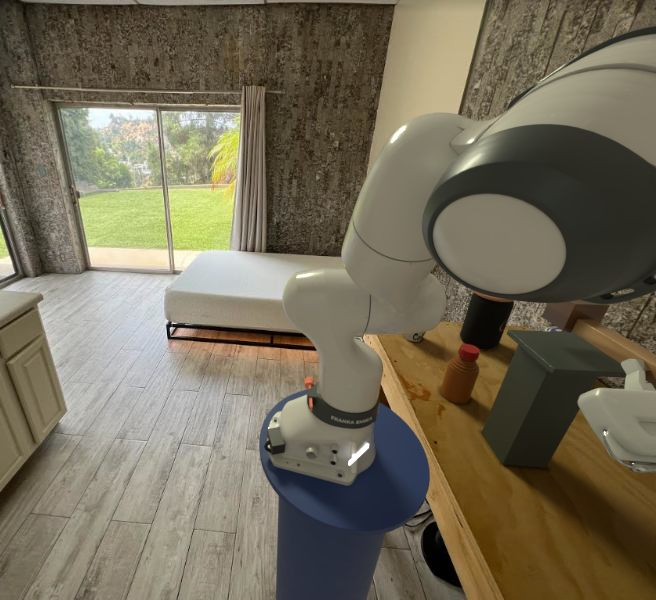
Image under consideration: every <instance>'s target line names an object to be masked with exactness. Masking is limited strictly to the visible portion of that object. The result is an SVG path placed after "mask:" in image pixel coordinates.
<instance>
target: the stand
mask: <svg viewBox="0 0 656 600" xmlns="http://www.w3.org/2000/svg"><path fill="white" fill-rule="evenodd" d="M506 335H507V336H508V337H509V338H510V339H511V340H513V341H514V342H515V343H516V344H517V346H516V348H515V351H514V353H513V355H512V358H511V360H510V362H509V364H508V367H507V370H506V373H505V375H504V377H503V380H502V382H501V384H500V387H499V390H498V392H497V394H496V396H495V399H494V401H493V404H492V406H491V409H490V411H489V413H488V416H487V418H486V420H485V423H484V425H483V428H482V430H481V434H482V436H483V437H484V438H485V440H486V442H487V443H488V444H489V446H490V448H491V449H492V451H493V452H494V454H495V455H496V457H497V458H498V460H499V461H500V463H501V464H502V465H505V466H515V467H516V466H517V467H529V468H541V469H542V468H543V469H546V468H547V467H548V466H549V463H550V461H551V460H552V458H553V457H554V455H555V453H556V451H557V449H558V448H559V446H560V444H561V443H562V440H563V439H564V437H565V436H566V434H567V432H568V430H569V429H570V427H571V425H572V423H573V422H574V420H575V419H576V417H577V415H578V414H579V412H580V411H581V410H580V408H579V406H578V399H579V396H580V395H581V394H583V393H586V392H588V391H591V390H593V388H594V385H595V383H596V382H597V380H598V378H599V377H600V378H601V377H603V378H619V379H626V375H627V374H626V373H625V371H624V369H623V368H622V366H621V364H620V363H619V362H617V361H616V360H614V359H613V358H611V357H610V356H608V355H607V354H605V353H604V352H602V351H601V350H599V349H598V348H596V347H595V346H593V345H592V344H590V343H588V342H587V341H585V340H584V339H582V338H581V337H579V336H578V335H576V334H575V333H573V332H552V331H543V330H525V329H523V330H522V329H507V332H506Z"/></svg>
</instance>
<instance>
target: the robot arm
mask: <svg viewBox="0 0 656 600" xmlns="http://www.w3.org/2000/svg"><path fill="white" fill-rule="evenodd" d="M340 256H341V262H342V265H343V267H317V268H311V269H306V270H301V271H296V272H294V273H293V274H292V276H290V278H289V279H288V280H287V282H286V283H285V285H284V288H283V291H282V296H281V297H282V298H281V304H282V305H281V306H282V310H283V313H284V316H285V317H286V320H287V321H288V322H289V323H290V325H291V326H292V327H293V328H294V329H296V330H298V332H300V333H302V335H304V336H305V337H306V338H307V339H309V341H310V342H311V343H312V345H313V346H314V349H315V350H316V352H317V356H318V365H319V366H318V367H319V369H318V370H319V371H318V381H317V382H316V383H315V379H314V378H313V377H312V376H306V377H305V378H304V388H305V390H307V389H308V391H307V395H304V396H302V397H299V398H297V399H294V400H291V401H289V402H287V403H286V404H285V406H284V407H283V409H282V411H280V412H277V413H276V414H275V415H274V416H273V418H272V419H271V421H270V424H269V428H268V429H267V442H266V443H265V445H264V448H265V450H266V451H268V455H269V458H270V460H271V462H272V464H273V465H274V466H275V467H278V468H282V469H285V470H289V471H293V472H296V473H300V474H304V475H308V476H311V477H315V478H319V479H323V480H326V481H330V482H334V483H338V484H341V485H345V486H349V485H351V484H352V483H353V482H354V480H355V479H356V477H357V475H358V474H359V473H361V472H363V471H364V470H366V469H367V468H368V467H370V466H371V464H372V463H373V461H374V459H375V455H376V449H375V444H374V422H375V421H376V418H377V415H378V411H379V402H380V401H381V400H380V399H381V398H380V396H379V395H380V391H381V385H382V380H383V375H384V364H383V361H382V358H381V356H380V354H379V353H378V352H377V351H376V350H375V349H374V348H373V347H372V346H370V345H369V344H367V343H365V342H364V341H362V340H360V339H358V338H356V336H361V335H369V336H404V335H407V334H414V333H420V332H425V331H426V332H430V331H433V330H434V329H435V328H436V327H437V326H438V325H439V324H440V323H441V321H442V320H443V318H444V316H445V314H446V310H447V294H446V291H445V288H444V286H443V284H442V283H441V281H440V280H439V278H437V277H436V276H435V275H434V274H432V271H433V270H434V268H435V267H436V266H437V265H438V266H439V267H440V268H441V269H442V270H443V271H444V272H445V273H446V274H447V275H448V277H450V278H451V279H453V280H454V281H455V282H456V283H458V284H460V285H462V286H464V287H465V288H467V289H469V290H471V291H473V292H474V291H476V292H478V293H481V294H484V295H488V296H491V297H496V298H502V299H508V300H514V302H515V301H516V302H522V303H523V302H525V303H533V304H535V303H536V304H547V303H562V302H570V301H576V300H582V301H587V302H591V303H596V304H609V305H614V304H619V303H624V302H629V301H632V300H635V299H639V298H642V297H645V296H648V295H650V294H653V293H654V294H655V295H656V23H653V24H649V25H646V26H642V27H638V28H635V29H632V30H629V31H626V32H623V33H621V34H618V35H616V36H613V37H611V38H609V39H607V40H604V41H602V42H600V43H598V44H596V45H594V46H592V47H591V48H589V49H587V50H584V51H583V52H581V53H580V54H578V55H576V56H575V57H573V58H572V59H570V60H569V61H567V62H566V63H564V64H562V65H561V66H560V67H558V68H557V69H556V70H554V71H552V72H550V73H549V74H548V75H546V76H544V77H543V78H542V79H540V80H539V81H537V82H536V83H534V84H532V85H531V86H530V87H528V88H525V90H523V91H521V92H520V93H518V94H517V95H516V96H514V97H513V98H512V99H511V101H510V102H509V104H508V105H507V108H506V110H505V112H503V113H502V114H500V115H498V116H496V117H493V118H491V119H487V120H475V119H472V118H469V117H467V116H464V115H461V114H457V113H452V112H445V111H444V112H438V111H437V112H430V113H425V114H420V115H418V116H415V117H413V118H411V119H409V120H407V121H406V122H404V123H402V124H400V126H398V127H397V128H396V129H395V130H394V131H393V132H392V133H391V134H390V136H389V137H388V139H386V141H385V143H384V145H383V146H382V147H381V149H380V151H379V153H378V155H377V157H376V158H375V160H374V162H373V164H372V165H371V167H370V168H369V171H368V173H367V175H366V178H365V179H364V182H363V184H362V186H361V188H360V191H359V194H358V196H357V199H356V202H355V204H354V208H353V210H352V214H351V217H350V219H349V223H348V227H347V229H346V233H345V236H344V240H343V242H342V246H341V255H340ZM624 290H633V291H630V292H627V293H621V294H614V293H618V292H621V291H624ZM621 366H622V368H623V369H624V371H625V373H626V374H627V375H626V378H624V385H623V388H614V387H613V388H610V387H596V388H594V389H593V388H592V389H591V391H588V392H586V393H583V394H581V395H580V396H579V399H578V406H579V408H580V410H579V411H581V413H582V415H583V417H584V418H585V420H586V422H587V423H588V425H589V426H590V428H591V430H592V431H593V433H594V434H595V436H596V438H598V440H599V441H600V442H601V444H602V445H603V446H604V447H605V448H604V449H606V452H607V454H608V455H609V456H610V458H611V459H612V460H613V461H615V462H617V463H618V464H619V465H621V466H623V467H625V468H627V469H628V470H630V471H631V472H633V473H638V474H654V475H655V474H656V387H655V386H654V385H652V384H651V383H649V382H647V381H646V377H645V373H647V372H650V371H651V369H650V368H649V366H648V365H646V362H645V361H644V360H642V359H627V360H625V361H623V362H621ZM380 403H381V402H380ZM338 476H341V477H338Z"/></svg>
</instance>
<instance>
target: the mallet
mask: <svg viewBox="0 0 656 600" xmlns="http://www.w3.org/2000/svg"><path fill="white" fill-rule="evenodd" d="M610 305H611V304H596V303H591V302H587V301H582V300H576V301H570V302H562V303H546V305H545V308H544V310H543V312H542V314H541V318H542V319H544V320H545V321H547V322H548V323H550V324H553V325H555V326H556V327H558V328H559V329H561V330H562V331H572V332H573V333H575V334H576V335H578V336H579V337H581V338H582V339H584V340H585V341H587V342H588V343H590V344H592V345H593V346H595V347H596V348H598V349H599V350H601V351H602V352H604V353H605V354H607V355H608V356H610V357H611V358H613V359H614V360H616V361H617V362H619V363H620V364H621V362H623V361H625V360H627V359H642V360H644V361H645V362H646V365H648V366H649V368H650V369H651V371H650V372H647V373H645V377H646V382H647V383H651V384H652V385H653V387H654V388H656V354H655V353H653V352H651V351H650V350H648V349H646V348H645V347H643V346H641V345H639V344H637V343H636V342H634V341H632V340H630V339H629V338H627V337H625V336H623V335H621V334H619V333H618V332H616V331H614V330H613V329H611V328H610V327H608V326H606V325H604V324H603V323H602V321H603V320H604V318H605V316H606V314H607V313H608V310H609V308H610Z"/></svg>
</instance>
